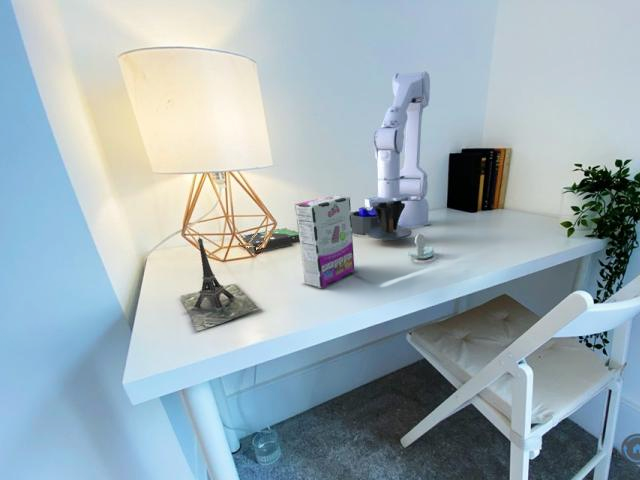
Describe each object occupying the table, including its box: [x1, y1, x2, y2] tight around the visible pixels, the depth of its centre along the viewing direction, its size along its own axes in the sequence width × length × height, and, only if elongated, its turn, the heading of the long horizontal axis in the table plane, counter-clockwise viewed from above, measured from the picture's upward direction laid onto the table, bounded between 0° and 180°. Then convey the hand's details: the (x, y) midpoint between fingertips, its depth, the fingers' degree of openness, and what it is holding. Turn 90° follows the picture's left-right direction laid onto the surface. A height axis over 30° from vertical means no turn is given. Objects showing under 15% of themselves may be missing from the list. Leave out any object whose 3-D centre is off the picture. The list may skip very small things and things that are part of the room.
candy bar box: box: [294, 195, 355, 289], centre depth 69 cm, size 11×5×16 cm, turn 148°
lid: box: [366, 218, 413, 241], centre depth 93 cm, size 13×13×5 cm
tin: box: [351, 209, 381, 236], centre depth 106 cm, size 12×17×6 cm
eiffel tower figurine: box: [180, 232, 260, 332], centre depth 58 cm, size 15×10×13 cm
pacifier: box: [406, 233, 438, 264], centre depth 81 cm, size 7×6×6 cm
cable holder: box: [358, 202, 382, 217], centre depth 103 cm, size 8×4×4 cm, turn 125°
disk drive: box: [237, 227, 300, 253], centre depth 95 cm, size 10×3×15 cm
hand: (388, 230), depth 94 cm, fingers closed on lid, 2 cm apart
